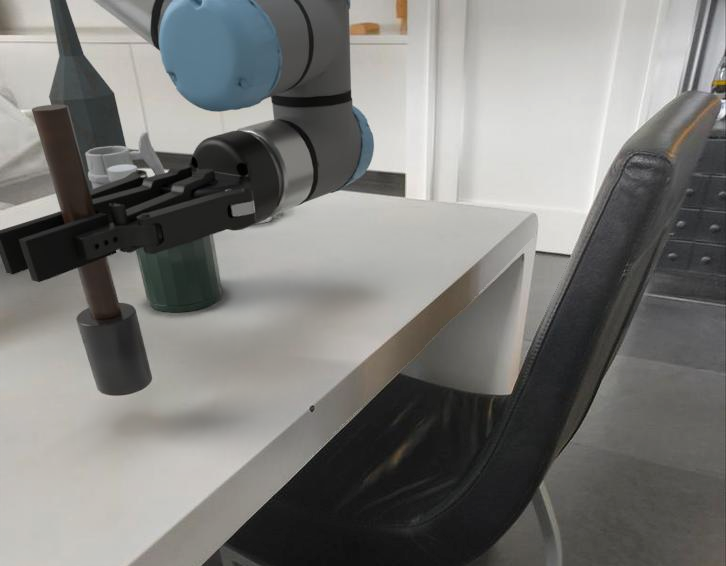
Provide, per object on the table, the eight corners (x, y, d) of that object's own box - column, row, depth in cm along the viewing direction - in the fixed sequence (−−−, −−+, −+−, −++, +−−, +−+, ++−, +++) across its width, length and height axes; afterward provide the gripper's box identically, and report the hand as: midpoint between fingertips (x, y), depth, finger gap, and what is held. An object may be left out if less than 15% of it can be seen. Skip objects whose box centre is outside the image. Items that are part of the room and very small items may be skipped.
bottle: (141, 186, 123) (96, -22, 105) (131, 201, 115) (80, -20, 97) (83, 189, 122) (27, -18, 104) (69, 204, 115) (6, -17, 96)
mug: (103, 213, 110) (82, 130, 102) (178, 209, 110) (162, 126, 103) (93, 228, 104) (69, 141, 96) (171, 223, 104) (154, 136, 97)
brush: (85, 390, 55) (-3, 112, 43) (120, 366, 58) (47, 100, 46) (130, 400, 54) (52, 114, 41) (163, 374, 57) (99, 102, 45)
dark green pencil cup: (133, 307, 79) (105, 198, 71) (176, 280, 85) (155, 177, 78) (196, 316, 76) (174, 204, 69) (236, 288, 82) (220, 182, 75)
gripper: (322, 232, 59) (107, 335, 44) (195, 208, 66) (-30, 290, 51) (316, 137, 55) (73, 214, 39) (180, 122, 62) (-72, 183, 46)
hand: (16, 257), depth 45 cm, fingers closed on brush, 2 cm apart
